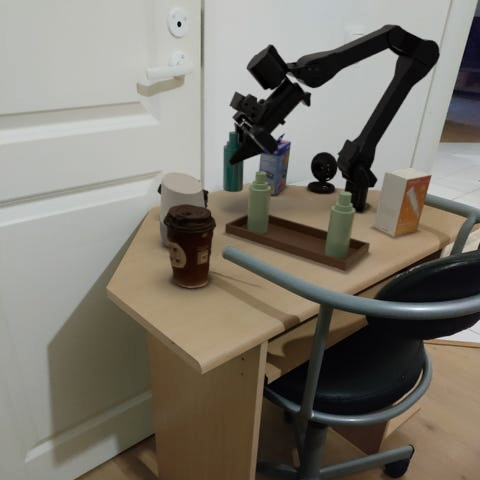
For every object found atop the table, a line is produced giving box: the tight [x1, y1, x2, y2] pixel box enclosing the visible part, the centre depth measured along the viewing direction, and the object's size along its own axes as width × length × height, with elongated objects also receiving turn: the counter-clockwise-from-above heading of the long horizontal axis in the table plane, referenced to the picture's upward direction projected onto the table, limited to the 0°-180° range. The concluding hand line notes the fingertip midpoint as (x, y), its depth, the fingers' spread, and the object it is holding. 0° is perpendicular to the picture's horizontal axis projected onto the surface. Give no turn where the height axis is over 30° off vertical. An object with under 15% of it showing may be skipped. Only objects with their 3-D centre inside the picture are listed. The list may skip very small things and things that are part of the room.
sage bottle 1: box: [247, 170, 272, 234], centre depth 103 cm, size 5×5×12 cm
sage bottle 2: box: [324, 191, 356, 259], centre depth 94 cm, size 5×5×12 cm
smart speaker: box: [159, 171, 205, 248], centre depth 95 cm, size 10×9×14 cm
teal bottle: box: [222, 131, 245, 193], centre depth 109 cm, size 5×5×12 cm
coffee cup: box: [163, 204, 217, 289], centre depth 83 cm, size 9×8×13 cm
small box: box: [373, 167, 433, 237], centre depth 107 cm, size 8×6×13 cm
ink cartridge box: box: [258, 133, 292, 196], centre depth 128 cm, size 10×6×14 cm, turn 158°
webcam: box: [307, 151, 338, 194], centre depth 130 cm, size 8×8×10 cm
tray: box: [225, 213, 371, 272], centre depth 101 cm, size 11×28×2 cm, turn 54°
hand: (227, 160), depth 108 cm, fingers closed on teal bottle, 4 cm apart
